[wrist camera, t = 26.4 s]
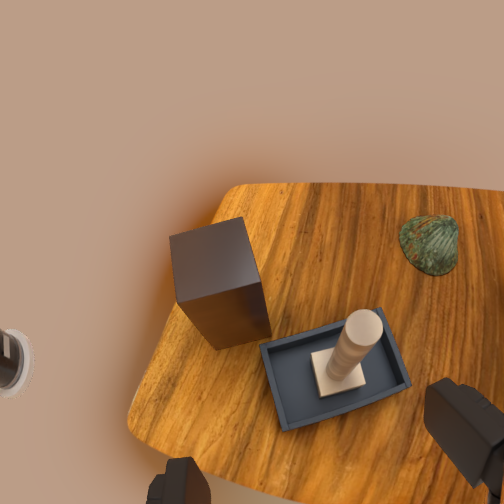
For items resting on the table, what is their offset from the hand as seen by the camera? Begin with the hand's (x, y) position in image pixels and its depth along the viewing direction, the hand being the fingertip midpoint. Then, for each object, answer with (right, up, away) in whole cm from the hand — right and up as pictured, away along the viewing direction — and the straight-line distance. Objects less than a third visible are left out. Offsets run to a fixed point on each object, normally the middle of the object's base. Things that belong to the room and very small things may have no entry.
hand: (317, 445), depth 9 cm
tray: (+7, -8, +25) cm, 27 cm away
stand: (-4, -2, +30) cm, 30 cm away
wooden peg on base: (+7, -7, +24) cm, 26 cm away
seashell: (+24, +7, +32) cm, 41 cm away
